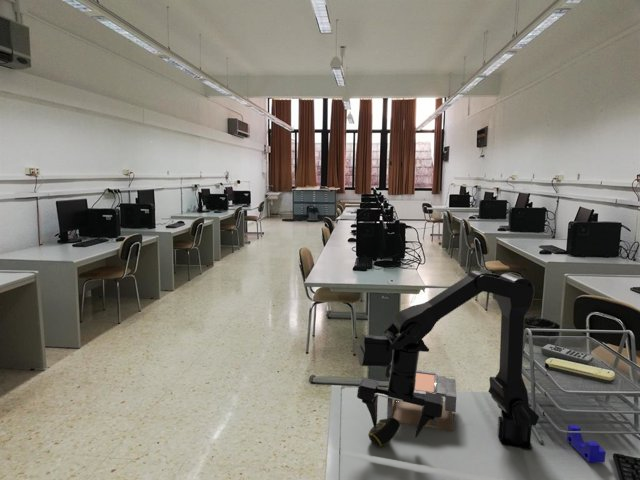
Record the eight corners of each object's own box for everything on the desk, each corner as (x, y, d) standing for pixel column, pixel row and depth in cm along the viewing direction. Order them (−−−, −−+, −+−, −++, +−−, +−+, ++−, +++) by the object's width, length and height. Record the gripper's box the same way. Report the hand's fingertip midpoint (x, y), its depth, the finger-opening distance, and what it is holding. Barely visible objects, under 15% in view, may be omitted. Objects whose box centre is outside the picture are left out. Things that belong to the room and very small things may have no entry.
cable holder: (604, 462, 94) (606, 445, 93) (588, 462, 93) (590, 445, 93) (581, 440, 101) (582, 424, 101) (566, 440, 101) (568, 424, 101)
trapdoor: (454, 393, 115) (455, 377, 114) (455, 412, 106) (456, 394, 105) (397, 385, 119) (397, 369, 119) (393, 403, 110) (393, 386, 109)
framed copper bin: (451, 403, 117) (453, 374, 116) (452, 431, 104) (454, 398, 103) (393, 395, 122) (393, 366, 121) (386, 420, 109) (387, 388, 108)
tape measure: (405, 428, 97) (394, 414, 98) (386, 450, 94) (375, 436, 94) (391, 428, 103) (381, 416, 104) (372, 450, 100) (362, 436, 100)
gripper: (447, 362, 101) (437, 423, 104) (369, 346, 107) (362, 405, 109) (446, 382, 91) (436, 449, 93) (360, 363, 96) (352, 428, 98)
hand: (395, 431), depth 98 cm, fingers open, 9 cm apart
